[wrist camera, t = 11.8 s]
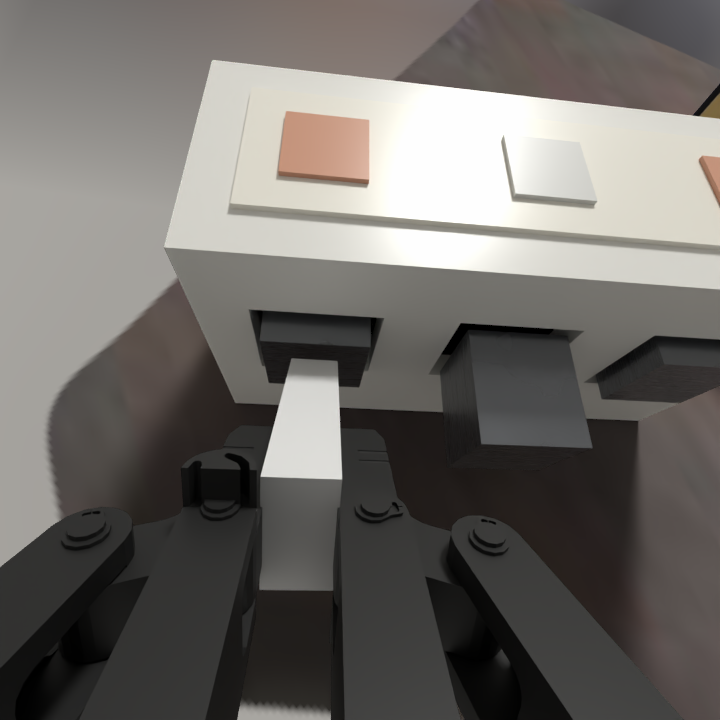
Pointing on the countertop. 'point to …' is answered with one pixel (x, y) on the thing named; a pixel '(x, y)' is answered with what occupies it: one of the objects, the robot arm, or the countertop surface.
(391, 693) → the robot arm
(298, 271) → the control box
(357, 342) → the left button
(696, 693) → the countertop surface
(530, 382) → the middle button
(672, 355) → the right button
